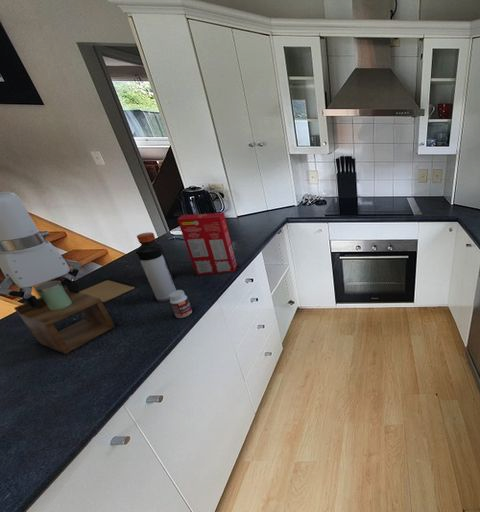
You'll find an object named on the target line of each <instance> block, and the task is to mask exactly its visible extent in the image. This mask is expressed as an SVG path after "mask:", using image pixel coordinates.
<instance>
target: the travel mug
mask: <svg viewBox="0 0 480 512" xmlns="http://www.w3.org/2000/svg"><path fill="white" fill-rule="evenodd" d="M135 254H136V255H137V257H138V259H139V261H140V264H141V266H142V269H143V272H144V273H145V277H146V278H147V280H148V283H149V286H150V287H151V290H152V292H153V294H154V297H155V299H156V301H157V302H167V301H170V297H169V294H170V293H171V292H173V291H177V289H176V286H175V283H174V281H173V279H172V278H171V275H170V273H169V270H168V268H167V265H166V262H165V260H164V257H163V255H162V253H161V250H160V248H159V247H158V248H157V247H146V248H141V249H139V248H138V249H136V250H135Z"/></svg>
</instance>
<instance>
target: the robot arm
mask: <svg viewBox="0 0 480 512" xmlns="http://www.w3.org/2000/svg"><path fill="white" fill-rule="evenodd" d="M49 236H50V232H49V231H48V230H44V231H41V230H39V228H38V227H37V225H36V223H35V222H34V220H33V218H32V216H31V214H30V212H28V209H27V208H26V206H25V205H24V203H23V201H22V199H21V198H20V197H19V195H18V194H16V193H14V192H11V191H0V270H1V272H2V274H3V275H4V277H5V278H3V280H2V281H1V282H0V295H5V296H10V297H14V298H15V297H16V298H21V299H23V300H24V302H25V303H27V304H28V306H29V307H31V308H32V307H34V308H37V309H41V308H42V306H41V304H40V303H39V301H38V300H37V299H38V298H37V297H36V295H33V294H32V293H33V292H32V291H33V287H36V286H38V285H40V284H43V283H46V282H50V281H53V280H54V279H57V278H63V279H64V280H63V283H64V284H65V287H67V288H68V290H69V291H70V292H72V293H75V294H77V293H79V292H80V291H79V289H80V287H79V285H78V284H77V282H76V280H77V276H78V274H79V272H80V269H81V266H82V265H83V263H82V262H80V261H75V260H70V259H65V258H64V257H63V256H62V254H61V253H60V252H59V250H58V249H57V248H56V247H55V246H54V245H53V243H52V242H50V241H49V240H46V238H47V237H49ZM70 266H71V268H70ZM11 286H13V287H18V290H12V289H9V288H10V287H11Z"/></svg>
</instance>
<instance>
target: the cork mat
mask: <svg viewBox="0 0 480 512" xmlns="http://www.w3.org/2000/svg"><path fill="white" fill-rule="evenodd" d="M134 289H136V287H134V286H131V285H126V284H123V283H119V282H116V281H113V280H108V279H107V280H104V281H102V282H100V283H97V284H94V285H92V286H90V287H88V288H85V289H83V290H80V291H79V292H81V293H84V294H87V295H90V296H94V297H97V298H100V299H101V301H102V303H106V302H109V301H111V300H113V299H114V298H117V297H119V296H121V295H124V294H126V293H128V292H130V291H132V290H134Z"/></svg>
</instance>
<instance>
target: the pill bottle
mask: <svg viewBox="0 0 480 512" xmlns="http://www.w3.org/2000/svg"><path fill="white" fill-rule="evenodd" d="M169 297H170V300H169V303H170V306H171V309H172V311H173V313H174V316H175V317H176V318H179V319H183V318H186V317H188V316H190V315H191V314H192V312H193V309H192V306H191V303H190V301H189V298H188V296H187V295H186V294H185V291H184V290H183V289H176V291H173V292H171V293H170V294H169Z"/></svg>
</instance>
